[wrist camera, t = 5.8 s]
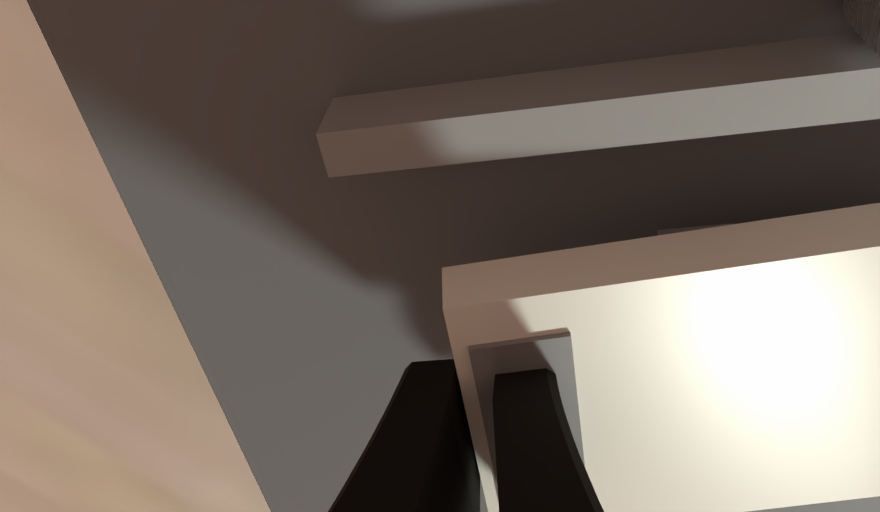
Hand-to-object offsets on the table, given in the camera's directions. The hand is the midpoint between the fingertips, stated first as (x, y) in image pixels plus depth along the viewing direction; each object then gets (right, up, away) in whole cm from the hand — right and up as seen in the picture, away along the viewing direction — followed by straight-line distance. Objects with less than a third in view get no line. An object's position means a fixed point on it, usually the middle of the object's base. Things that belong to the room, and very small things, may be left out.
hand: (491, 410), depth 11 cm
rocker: (+3, 0, 0) cm, 3 cm away
